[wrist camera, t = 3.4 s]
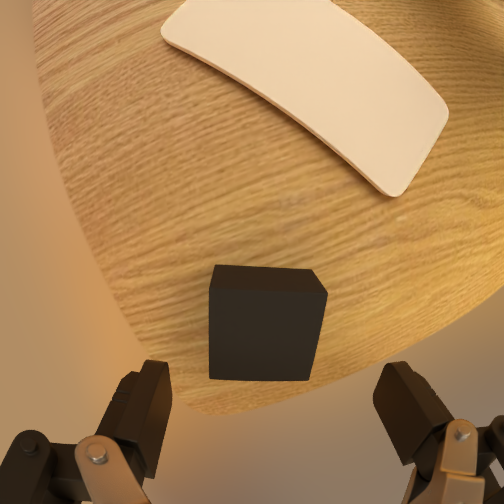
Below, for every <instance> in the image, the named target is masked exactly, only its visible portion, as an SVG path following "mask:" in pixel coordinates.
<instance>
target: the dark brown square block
mask: <svg viewBox="0 0 504 504" xmlns="http://www.w3.org/2000/svg"><path fill="white" fill-rule="evenodd" d="M327 296H328V292H327V291H326V290H325V288H324V287H323V285H322V284H321V282H320V281H319V279H318V278H317V276H316V275H315V274H314V272H313V271H312V270H310V269H289V268H270V267H251V266H233V265H215V267H214V271H213V275H212V279H211V283H210V287H209V378H210V379H219V380H238V381H308V380H309V377H310V373H311V369H312V365H313V361H314V357H315V353H316V348H317V344H318V340H319V335H320V330H321V326H322V321H323V316H324V311H325V306H326V301H327Z"/></svg>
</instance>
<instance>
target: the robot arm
mask: <svg viewBox="0 0 504 504" xmlns="http://www.w3.org/2000/svg"><path fill="white" fill-rule="evenodd" d="M373 404H374V407H375V409H376V411H377V413H378V414H379V417H380V419H381V421H382V423H383V425H384V427H385V429H386V431H387V433H388V435H389V437H390V439H391V441H392V443H393V445H394V447H395V449H396V451H397V454H398V456H399V458H400V460H401V462H402V464H403V466H404V465H407V464H410V463H413V462H414V463H415V465H416V466H415V467H414V469H413V471H412V474H411V477H410V480H409V483H408V486H407V490H406V492H405V495H404V498H403V501H402V503H401V504H504V487H503V488H501V487H500V486H499V484H498V482H497V480H496V478H495V476H494V474H493V473H492V471H491V469H490V467H489V466H490V464H491V463H492V462H493V461H494V460H495V459H496V458H497V459H498V461H499V463H500V464H501V466H502V468H503V470H504V415H500V416H497V417H495V418H494V420H493V421H492V423H491V424H490V425H489V426H487V427H479V428H476V427H475V426H474V425H473V424H472V423H471V422H469V421H467V420H464V419H456V420H455V419H454V418H453V416H452V415H451V413H450V412H449V410H448V409H447V408H446V406H445V405H444V404H443V402H442V401H441V400H440V398H439V397H438V395H437V396H436V393H435V391H434V390H433V389H431V386H430V385H429V383H428V382H427V381H426V379H425V378H423V377H422V376H421V375H419V374H418V373H416V372H413V370H412V369H411V367H410V366H409V365H408V363H406V362H405V361H400V362H393V363H387V364H386V365H385V366H384V368H383V371H382V373H381V376H380V379H379V381H378V383H377V386H376V388H375V390H374V393H373ZM171 406H172V388H171V381H170V374H169V366H168V363H167V362H162V361H154V360H146V361H145V362H144V364H143V366H142V369H141V371H140V372H134V371H131V372H130V373H129V374H127V375H126V376H125V377H124V378H122V379H121V381H120V383H119V385H118V387H117V389H116V392H115V393H114V395H113V397H112V401H110V404H109V406H108V408H107V410H106V412H105V414H104V416H103V418H102V420H101V423H100V425H99V427H98V429H97V431H96V433H95V434H94V435H93V436H89V437H86V438H84V439H82V440H81V441H80V442H79V443H78V444H60V443H50V442H49V440H48V439H47V438H46V436H45V435H44V434H42V433H41V432H39V431H35V430H26V431H23V432H21V433H19V434H18V435H17V436H16V437H15V439H14V440H13V442H12V444H11V446H10V448H9V450H8V452H7V454H6V456H5V458H4V460H3V462H2V464H1V466H0V504H81V502H82V501H90V502H93V504H151V502H150V500H149V499H148V498H147V496H146V494H145V492H144V491H143V489H142V485H143V481H144V477H146V478H151V479H154V478H155V473H156V469H157V464H158V460H159V456H160V452H161V447H162V443H163V439H164V435H165V431H166V427H167V423H168V419H169V415H170V411H171Z"/></svg>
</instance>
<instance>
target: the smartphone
mask: <svg viewBox="0 0 504 504" xmlns="http://www.w3.org/2000/svg"><path fill="white" fill-rule="evenodd" d="M161 35H162V37H163V38H164V40H165V41H166V42H167V43H168V44H170V45H172V46H174V47H176V48H178V49H180V50H182V51H184V52H186V53H188V54H190V55H192V56H194V57H195V58H197V59H199V60H201V61H203V62H205V63H207V64H208V65H210V66H212V67H214V68H216V69H217V70H219V71H221V72H222V73H224V74H226V75H228V76H229V77H231V78H233V79H234V80H236V81H238V82H239V83H241V84H242V85H244V86H246V87H247V88H249V89H250V90H252V91H253V92H255V93H256V94H258V95H260V96H261V97H263V98H264V99H265V100H267V101H268V102H270V103H271V104H273V105H274V106H276V107H277V108H279V109H280V110H281V111H283V112H284V113H286V114H287V115H288V116H290V117H291V118H293V119H294V120H295V121H297V122H298V123H299V124H301V125H302V126H303V127H305V128H306V129H307V130H308V131H310V132H311V133H312V134H314V135H315V136H316V137H317V138H319V139H320V140H321V141H322V142H324V143H325V144H326V145H327V146H329V147H330V148H331V149H332V150H333V151H335V152H336V153H337V154H338V155H339V156H341V157H342V158H343V159H344V160H345V161H346V162H348V163H349V164H350V165H351V166H352V167H353V168H354V169H355V170H357V171H358V172H359V173H360V174H361V175H362V176H363V177H364V178H365V179H366V180H368V181H369V182H370V183H371V184H372V185H373V186H374V187H375V188H376V189H377V190H378V191H380V192H381V193H382V194H384V195H387V196H392V197H397V196H399V195H401V194H402V193H403V192H404V191H405V190H406V188H407V187H408V185H409V184H410V182H411V181H412V179H413V178H414V176H415V175H416V173H417V172H418V170H419V168H420V167H421V165H422V164H423V162H424V160H425V159H426V157H427V155H428V154H429V152H430V150H431V149H432V147H433V145H434V144H435V142H436V140H437V139H438V137H439V135H440V133H441V132H442V130H443V128H444V126H445V124H446V122H447V120H448V117H449V111H448V107H447V105H446V103H445V102H444V100H443V99H442V98H441V96H440V95H439V94H438V93H437V92H436V91H435V89H434V88H433V87H432V86H431V85H430V84H429V83H428V82H427V81H426V80H425V79H424V78H423V77H422V75H421V74H420V73H419V72H418V71H417V70H416V69H415V68H414V67H413V66H412V65H411V64H410V63H408V62H407V61H406V60H405V59H404V58H403V57H402V56H401V55H400V54H399V53H398V52H397V51H396V50H394V49H393V48H392V47H391V46H390V45H389V44H388V43H386V42H385V41H384V40H383V39H382V38H380V37H379V36H378V35H377V34H376V33H374V32H373V31H372V30H370V29H369V28H368V27H367V26H365V25H364V24H363V23H361V22H360V21H359V20H357V19H356V18H354V17H353V16H352V15H350V14H349V13H347V12H346V11H344V10H343V9H342V8H340V7H338V6H337V5H335V4H334V3H332V2H331V1H329V0H186V1H185V2H184V3H183V4H182V5H181V6H180V7H179V8H178V9H177V10H176V11H175V12H174V13H173V14H172V15H171V16H170V17H169V18H168V19H167V20H166V21H165V22H164V24H163V25H162V27H161Z"/></svg>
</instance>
